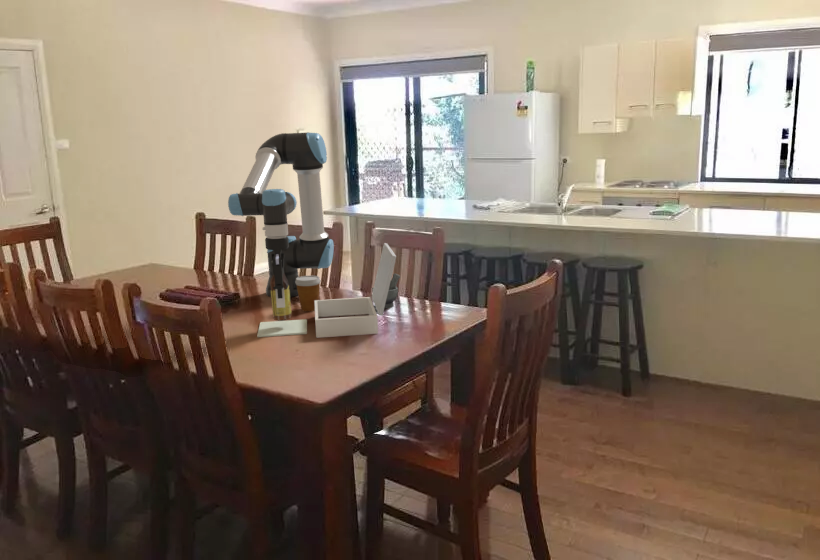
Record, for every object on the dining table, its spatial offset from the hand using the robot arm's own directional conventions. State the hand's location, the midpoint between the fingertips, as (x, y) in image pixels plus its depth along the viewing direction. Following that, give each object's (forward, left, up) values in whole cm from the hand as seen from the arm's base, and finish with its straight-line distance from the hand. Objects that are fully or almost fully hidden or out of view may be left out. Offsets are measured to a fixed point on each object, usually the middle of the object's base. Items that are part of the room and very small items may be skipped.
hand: (281, 304), depth 230 cm
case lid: (0, +34, +7) cm, 35 cm away
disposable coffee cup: (-24, +9, -9) cm, 27 cm away
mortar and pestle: (-22, +38, -9) cm, 45 cm away
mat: (0, 0, -8) cm, 8 cm away
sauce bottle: (0, 0, -5) cm, 5 cm away
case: (0, +21, -8) cm, 23 cm away
